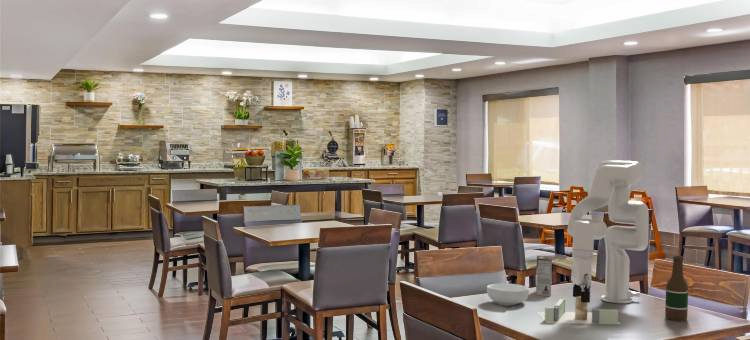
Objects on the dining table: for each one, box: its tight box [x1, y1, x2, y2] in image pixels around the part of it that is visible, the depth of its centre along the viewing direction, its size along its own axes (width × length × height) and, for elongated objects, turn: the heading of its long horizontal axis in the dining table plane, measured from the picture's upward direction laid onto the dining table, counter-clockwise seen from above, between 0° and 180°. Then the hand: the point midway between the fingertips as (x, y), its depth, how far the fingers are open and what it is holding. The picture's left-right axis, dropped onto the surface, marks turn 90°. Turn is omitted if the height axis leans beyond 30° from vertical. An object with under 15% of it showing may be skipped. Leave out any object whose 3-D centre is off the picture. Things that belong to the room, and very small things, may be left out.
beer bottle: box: [664, 255, 689, 322], centre depth 268 cm, size 8×8×24 cm
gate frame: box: [536, 306, 622, 325], centre depth 266 cm, size 27×17×5 cm, turn 91°
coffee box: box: [535, 255, 553, 297], centre depth 310 cm, size 9×6×16 cm
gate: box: [554, 297, 566, 319], centre depth 268 cm, size 14×2×5 cm, turn 156°
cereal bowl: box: [486, 283, 530, 307], centre depth 290 cm, size 17×17×7 cm
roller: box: [574, 296, 589, 320], centre depth 264 cm, size 4×4×8 cm
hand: (581, 299), depth 264 cm, fingers open, 9 cm apart
